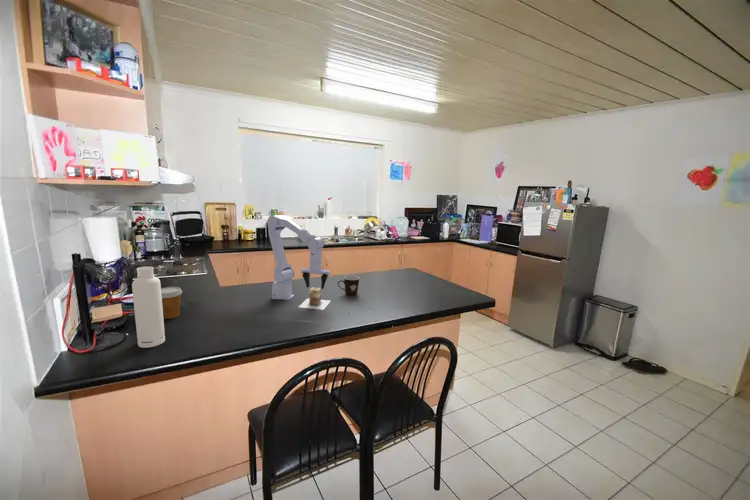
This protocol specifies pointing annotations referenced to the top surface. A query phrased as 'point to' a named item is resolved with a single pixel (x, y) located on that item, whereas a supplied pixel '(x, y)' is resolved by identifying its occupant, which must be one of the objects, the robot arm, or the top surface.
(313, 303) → the walnut block
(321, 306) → the board
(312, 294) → the maple block
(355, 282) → the coffee mug
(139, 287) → the bottle
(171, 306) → the disposable coffee cup
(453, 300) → the top surface
